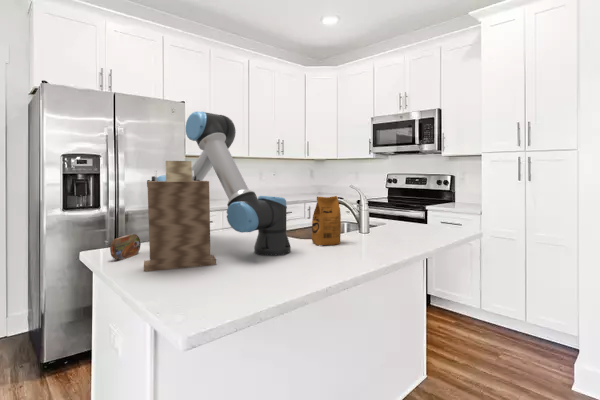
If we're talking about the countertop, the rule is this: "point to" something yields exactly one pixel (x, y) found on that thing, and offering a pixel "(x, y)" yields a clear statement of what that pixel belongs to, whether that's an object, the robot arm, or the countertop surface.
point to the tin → (125, 247)
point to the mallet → (178, 171)
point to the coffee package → (326, 221)
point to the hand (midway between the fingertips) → (174, 173)
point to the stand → (178, 225)
